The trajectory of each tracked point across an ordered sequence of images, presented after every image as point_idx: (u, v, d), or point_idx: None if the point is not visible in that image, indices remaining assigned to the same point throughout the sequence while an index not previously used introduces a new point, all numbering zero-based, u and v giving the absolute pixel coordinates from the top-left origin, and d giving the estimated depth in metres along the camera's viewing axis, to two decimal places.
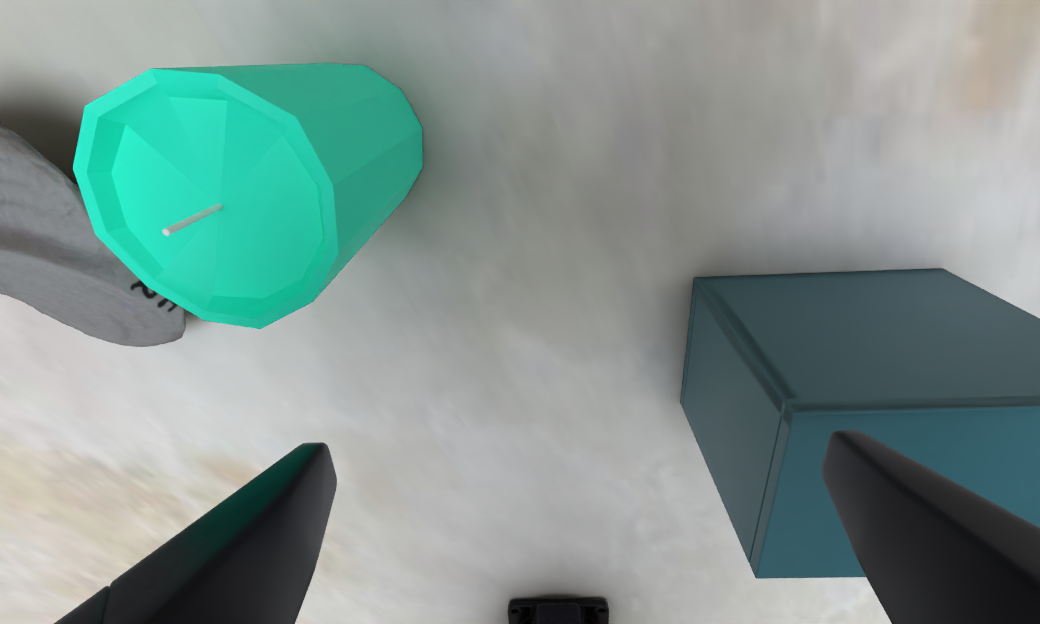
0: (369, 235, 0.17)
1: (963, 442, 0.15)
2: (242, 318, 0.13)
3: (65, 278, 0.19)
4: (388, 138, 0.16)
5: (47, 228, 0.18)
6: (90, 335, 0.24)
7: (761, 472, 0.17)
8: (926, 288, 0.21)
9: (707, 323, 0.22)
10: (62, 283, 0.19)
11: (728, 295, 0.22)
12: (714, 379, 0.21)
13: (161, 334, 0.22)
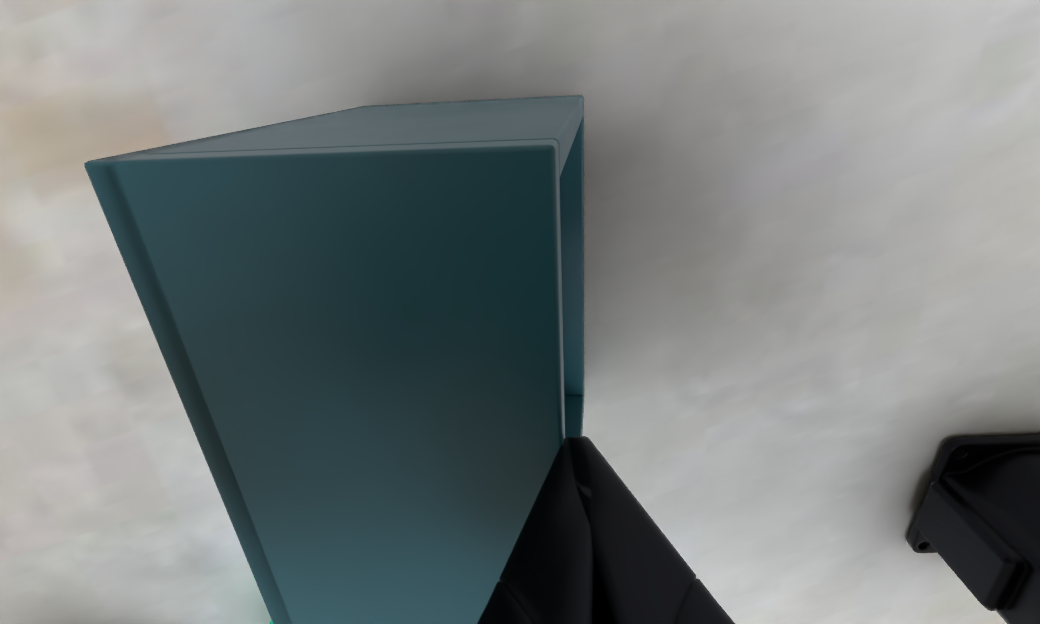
0: None
1: (264, 477, 0.10)
2: None
3: None
4: None
5: None
6: None
7: None
8: None
9: None
10: None
11: None
12: None
13: None
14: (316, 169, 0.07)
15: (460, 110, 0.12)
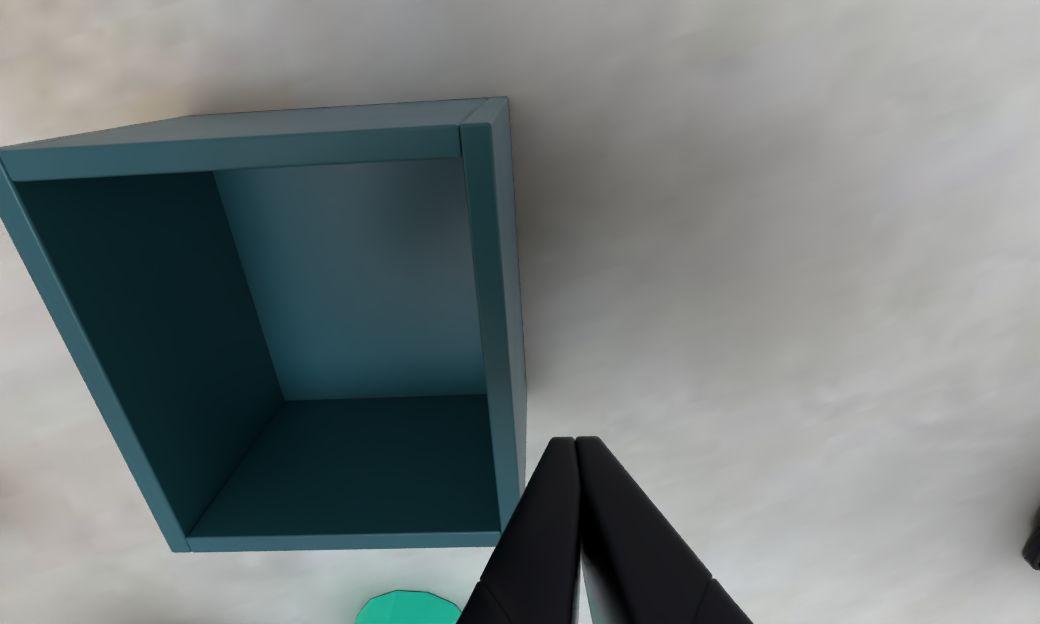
0: None
1: None
2: None
3: None
4: None
5: None
6: None
7: None
8: None
9: None
10: None
11: None
12: None
13: None
14: None
15: (340, 117, 0.12)
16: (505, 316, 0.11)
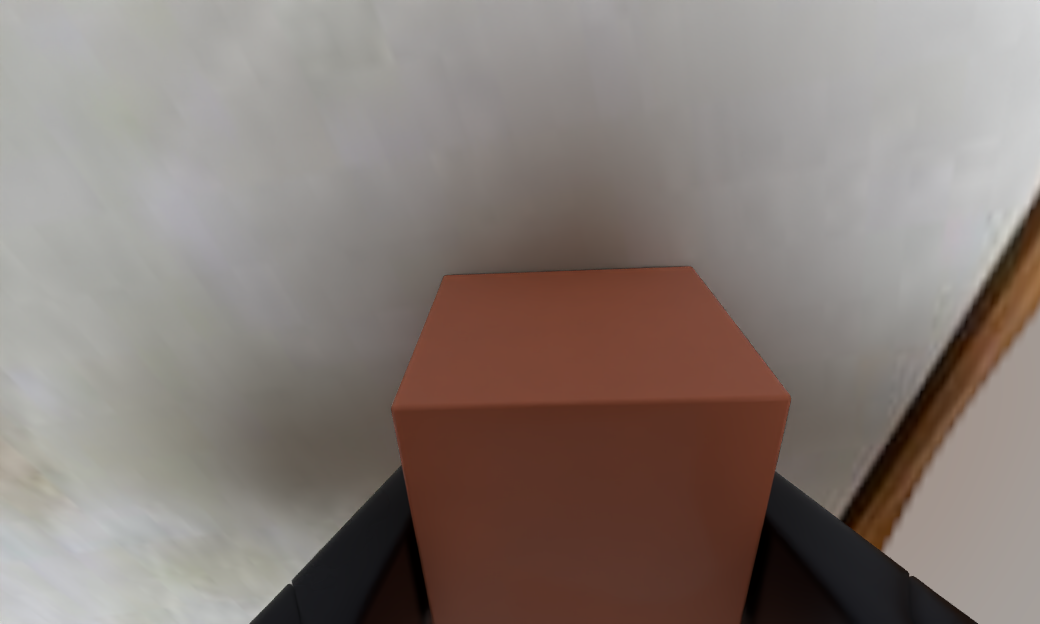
0: None
1: None
2: None
3: None
4: None
5: None
6: None
7: None
8: None
9: None
10: None
11: None
12: None
13: None
14: None
15: None
16: None
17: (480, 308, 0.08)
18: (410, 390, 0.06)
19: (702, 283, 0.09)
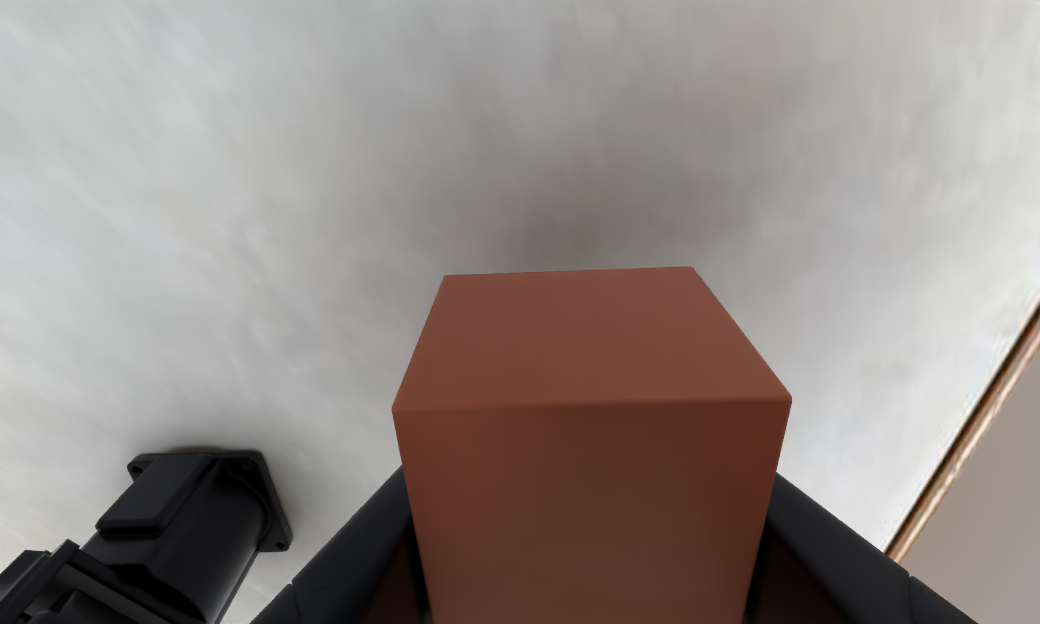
0: None
1: None
2: None
3: None
4: None
5: None
6: None
7: None
8: None
9: None
10: None
11: None
12: None
13: None
14: None
15: None
16: None
17: (481, 308, 0.08)
18: (410, 390, 0.06)
19: (703, 283, 0.09)
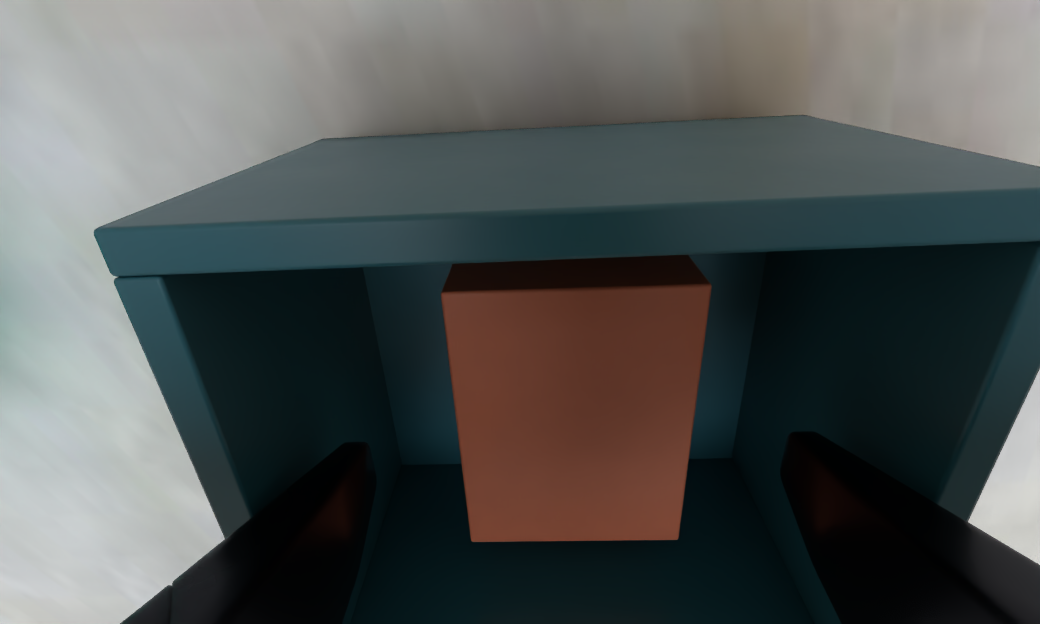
0: None
1: (535, 134, 0.11)
2: None
3: None
4: None
5: None
6: None
7: None
8: None
9: None
10: None
11: None
12: None
13: None
14: (901, 138, 0.08)
15: None
16: None
17: None
18: (453, 284, 0.09)
19: None
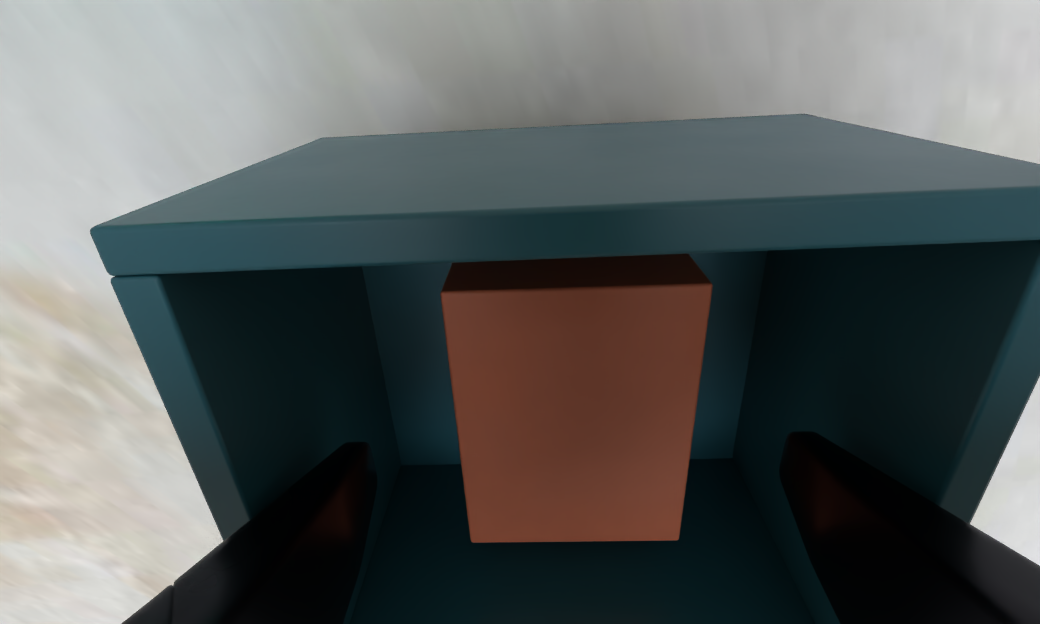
0: None
1: (535, 133, 0.11)
2: None
3: None
4: None
5: None
6: None
7: None
8: None
9: None
10: None
11: None
12: None
13: None
14: (902, 137, 0.08)
15: None
16: None
17: None
18: (452, 284, 0.09)
19: None
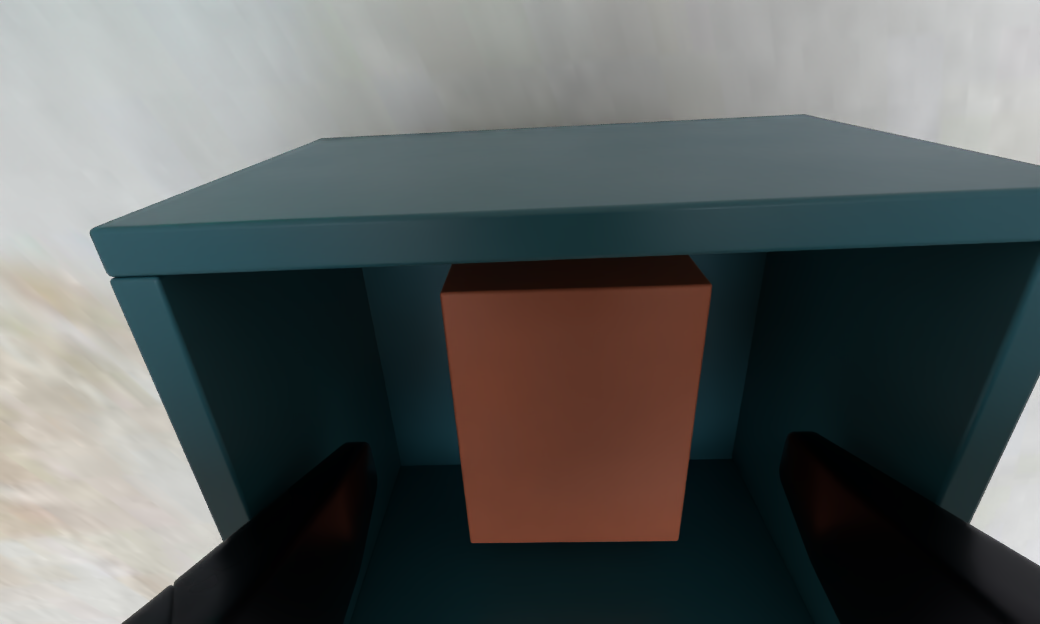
0: None
1: (535, 134, 0.11)
2: None
3: None
4: None
5: None
6: None
7: None
8: None
9: None
10: None
11: None
12: None
13: None
14: (902, 138, 0.08)
15: None
16: None
17: None
18: (452, 285, 0.09)
19: None
